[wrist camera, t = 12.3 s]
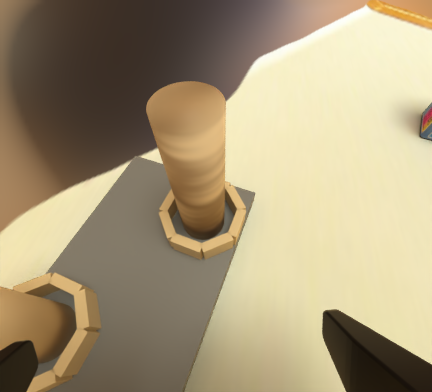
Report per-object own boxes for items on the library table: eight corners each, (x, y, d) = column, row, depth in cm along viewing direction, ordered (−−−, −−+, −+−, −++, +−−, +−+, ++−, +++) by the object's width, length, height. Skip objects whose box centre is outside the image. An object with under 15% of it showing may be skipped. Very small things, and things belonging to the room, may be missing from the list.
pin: (230, 210, 23) (236, 89, 12) (215, 246, 21) (207, 140, 11) (193, 197, 24) (169, 75, 13) (176, 231, 22) (130, 120, 11)
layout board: (253, 200, 26) (282, 68, 14) (155, 469, 15) (-129, 991, 3) (138, 163, 29) (76, 30, 17) (-11, 364, 18) (-480, 401, 6)
